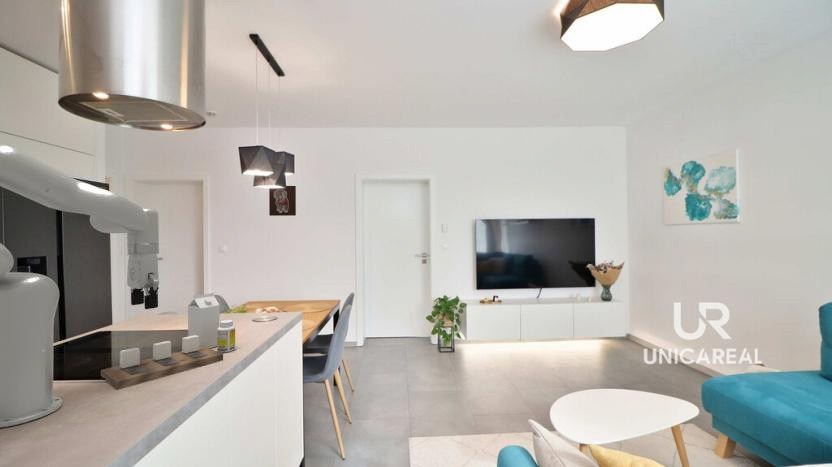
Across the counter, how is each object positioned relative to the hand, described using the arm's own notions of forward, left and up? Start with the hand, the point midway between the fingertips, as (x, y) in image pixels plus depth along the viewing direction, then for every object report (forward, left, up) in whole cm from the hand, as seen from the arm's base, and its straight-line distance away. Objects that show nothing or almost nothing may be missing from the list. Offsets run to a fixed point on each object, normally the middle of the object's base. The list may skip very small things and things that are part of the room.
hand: (144, 306), depth 107 cm
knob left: (-4, -2, -16) cm, 17 cm away
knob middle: (+4, -2, -16) cm, 17 cm away
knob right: (+12, -2, -16) cm, 20 cm away
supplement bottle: (+23, -3, -19) cm, 30 cm away
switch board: (+4, -5, -19) cm, 20 cm away
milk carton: (+20, +7, -19) cm, 29 cm away
